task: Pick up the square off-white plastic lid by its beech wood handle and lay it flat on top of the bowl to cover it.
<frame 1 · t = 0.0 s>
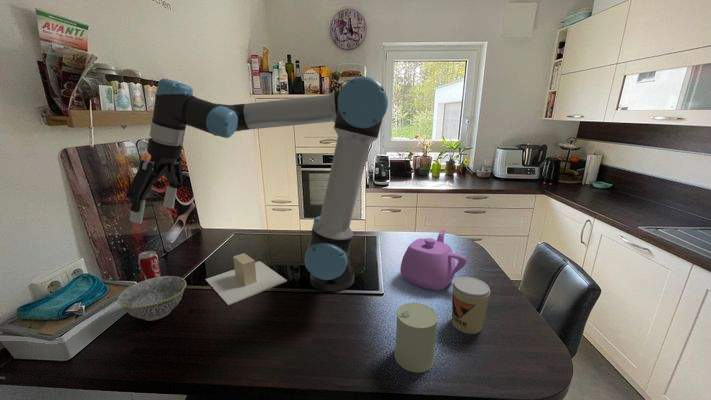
hand: (153, 214, 83), 28 cm above the kitchen island, tool tilted 20°, fingers open, 13 cm apart
can: (414, 357, 70), on the kitchen island
soda can: (153, 287, 98), on the kitchen island
lid: (246, 282, 103), on the kitchen island
cream canister: (466, 325, 81), on the kitchen island
teapot: (427, 279, 105), on the kitchen island
bowl: (158, 313, 85), on the kitchen island
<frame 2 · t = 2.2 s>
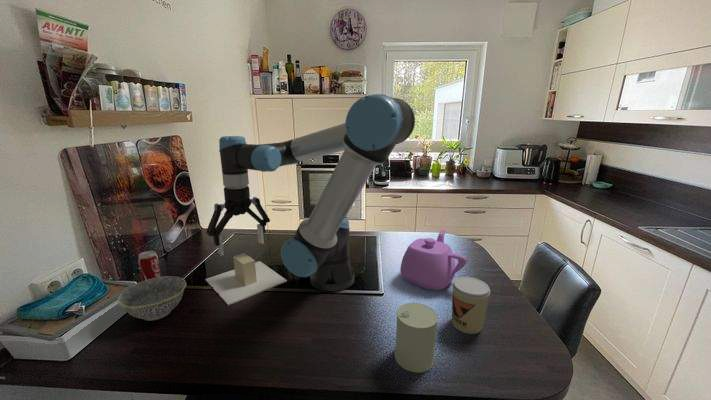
hand: (241, 248, 99), 12 cm above the kitchen island, tool pointing down, fingers open, 13 cm apart
nothing on the kitchen island moved.
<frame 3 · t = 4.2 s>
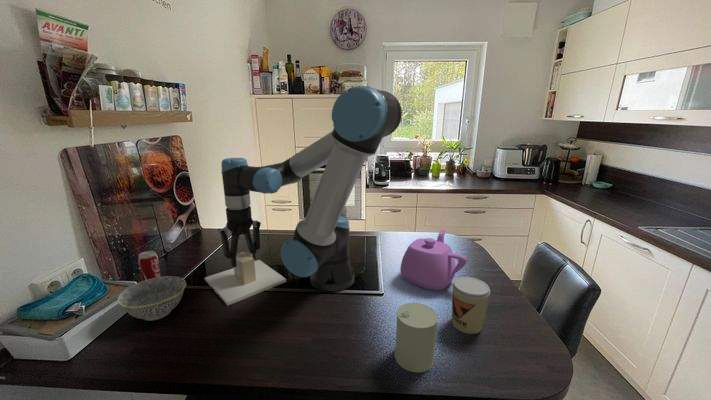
hand: (244, 272, 102), 3 cm above the kitchen island, tool pointing down, fingers closed on lid, 4 cm apart
lid: (245, 280, 102), on the kitchen island, touching gripper
everything else where it was.
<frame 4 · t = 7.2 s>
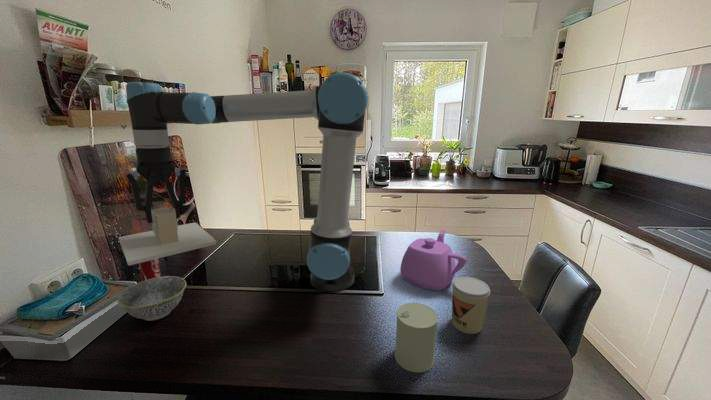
hand: (165, 231, 83), 23 cm above the kitchen island, tool pointing down, fingers closed on lid, 4 cm apart
lid: (167, 242, 84), point 20 cm above the kitchen island, touching gripper
everything else where it was.
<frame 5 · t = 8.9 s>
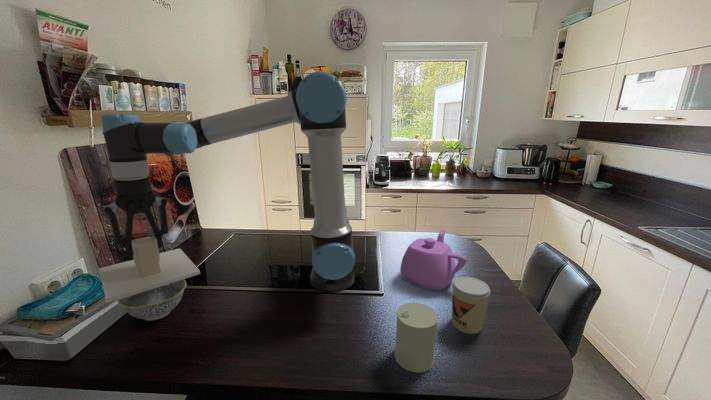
hand: (147, 261, 81), 16 cm above the kitchen island, tool pointing down, fingers closed on lid, 4 cm apart
lid: (149, 272, 82), point 13 cm above the kitchen island, touching gripper
everything else where it was.
when the fingers open (13 cm above the kitchen island, at t = 10.1 s): lid drops 2 cm, resting on bowl.
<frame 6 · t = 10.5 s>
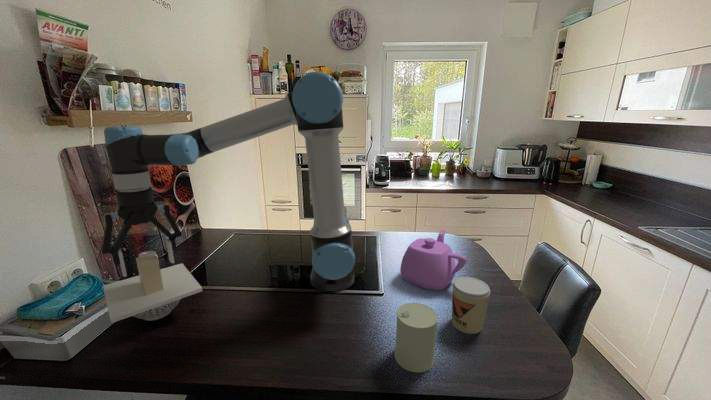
hand: (149, 267, 81), 14 cm above the kitchen island, tool pointing down, fingers open, 10 cm apart
lid: (152, 289, 83), point 7 cm above the kitchen island, touching bowl
bowl: (157, 313, 85), on the kitchen island, touching lid
everything else where it was.
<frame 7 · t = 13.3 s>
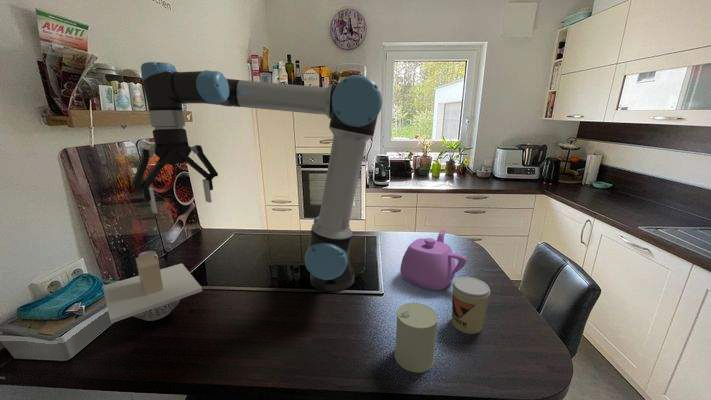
hand: (183, 206, 83), 30 cm above the kitchen island, tool pointing down, fingers open, 13 cm apart
nothing on the kitchen island moved.
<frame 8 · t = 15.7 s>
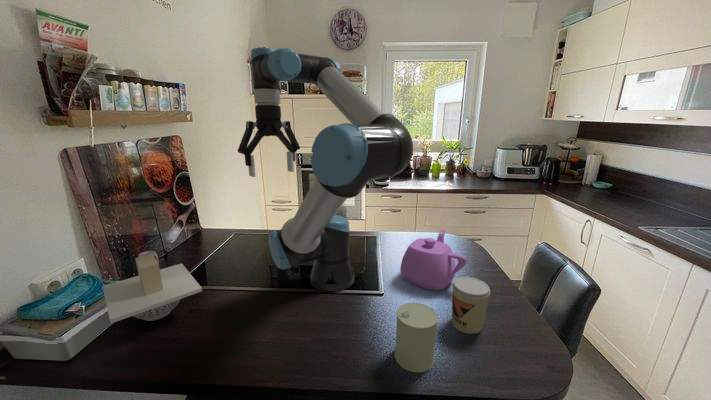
hand: (272, 173, 96), 37 cm above the kitchen island, tool pointing down, fingers open, 13 cm apart
nothing on the kitchen island moved.
at the end: lid inside the target area on the bowl (0.1 cm from its centre), point 7.7 cm above the bowl's base; lid tilted 0°; the gripper is holding nothing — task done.
